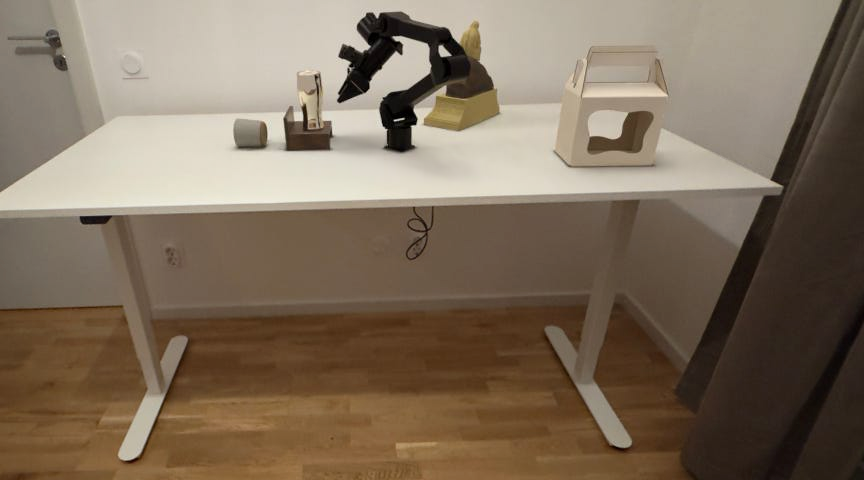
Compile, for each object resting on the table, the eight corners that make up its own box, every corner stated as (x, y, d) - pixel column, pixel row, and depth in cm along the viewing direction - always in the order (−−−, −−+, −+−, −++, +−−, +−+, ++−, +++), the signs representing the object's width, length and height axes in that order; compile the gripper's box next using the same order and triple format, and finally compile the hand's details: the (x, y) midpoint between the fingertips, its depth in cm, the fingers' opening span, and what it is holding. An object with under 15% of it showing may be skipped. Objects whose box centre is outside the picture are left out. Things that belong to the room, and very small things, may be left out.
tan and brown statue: (466, 107, 192) (472, 16, 177) (499, 113, 186) (507, 18, 171) (423, 124, 173) (426, 23, 158) (458, 130, 166) (464, 25, 151)
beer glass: (323, 131, 149) (319, 74, 142) (299, 131, 149) (293, 74, 142) (327, 124, 155) (323, 70, 148) (303, 124, 155) (298, 70, 148)
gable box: (568, 166, 137) (587, 50, 123) (553, 151, 148) (569, 42, 134) (653, 165, 138) (682, 49, 124) (631, 150, 149) (655, 42, 135)
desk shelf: (332, 135, 161) (330, 105, 157) (329, 149, 149) (327, 117, 145) (292, 136, 161) (289, 106, 156) (286, 150, 149) (283, 118, 144)
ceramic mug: (264, 149, 149) (260, 122, 145) (235, 149, 149) (230, 122, 145) (272, 139, 158) (269, 113, 155) (244, 139, 158) (240, 113, 155)
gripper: (355, 28, 148) (318, 71, 153) (355, 37, 132) (313, 84, 137) (383, 58, 153) (347, 98, 157) (387, 70, 136) (346, 114, 141)
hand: (338, 98), depth 148 cm, fingers open, 9 cm apart
